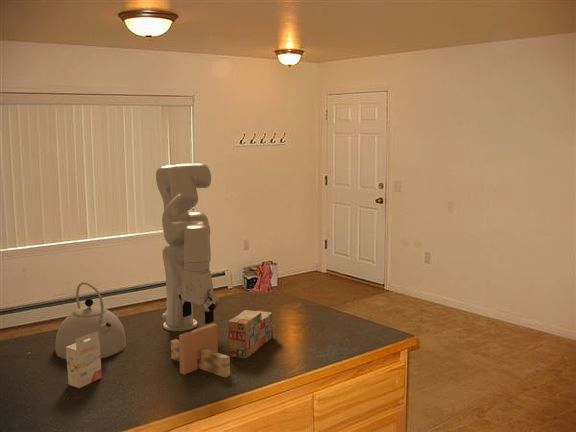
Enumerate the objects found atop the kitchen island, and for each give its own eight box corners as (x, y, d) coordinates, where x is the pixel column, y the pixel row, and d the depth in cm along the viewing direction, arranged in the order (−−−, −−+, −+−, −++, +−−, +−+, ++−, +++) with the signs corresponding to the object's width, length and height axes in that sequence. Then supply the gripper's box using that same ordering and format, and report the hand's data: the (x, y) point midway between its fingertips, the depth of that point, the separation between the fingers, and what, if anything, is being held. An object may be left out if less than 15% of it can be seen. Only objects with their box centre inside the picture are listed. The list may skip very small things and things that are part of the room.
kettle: (142, 349, 200) (139, 284, 197) (78, 368, 184) (74, 298, 181) (105, 331, 218) (102, 271, 214) (44, 347, 202) (39, 283, 198)
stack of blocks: (257, 335, 213) (256, 302, 211) (273, 337, 211) (272, 304, 209) (228, 356, 194) (228, 320, 192) (246, 359, 191) (245, 322, 189)
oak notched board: (171, 358, 192) (170, 340, 191) (175, 356, 194) (175, 338, 193) (225, 377, 177) (225, 358, 177) (230, 375, 179) (229, 356, 178)
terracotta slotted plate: (180, 372, 181) (178, 335, 179) (213, 358, 192) (212, 323, 190) (184, 374, 180) (183, 336, 178) (217, 360, 190) (217, 324, 188)
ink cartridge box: (91, 374, 180) (88, 327, 178) (102, 378, 177) (99, 330, 175) (67, 385, 173) (64, 336, 171) (78, 388, 170) (75, 339, 168)
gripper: (168, 263, 183) (169, 316, 186) (208, 273, 172) (209, 329, 176) (186, 258, 189) (187, 310, 192) (226, 267, 178) (227, 322, 181)
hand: (198, 319), depth 184 cm, fingers open, 9 cm apart
